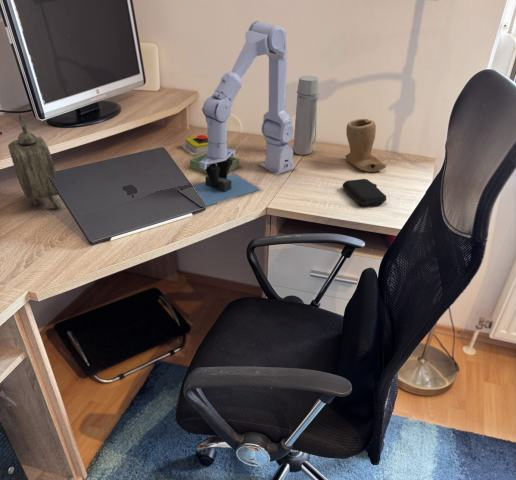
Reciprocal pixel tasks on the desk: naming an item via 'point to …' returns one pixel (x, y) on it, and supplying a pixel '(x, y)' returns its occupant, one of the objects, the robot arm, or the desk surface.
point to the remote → (220, 184)
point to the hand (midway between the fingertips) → (218, 184)
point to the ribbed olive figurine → (33, 165)
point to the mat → (214, 195)
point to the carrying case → (364, 192)
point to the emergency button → (196, 144)
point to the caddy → (196, 163)
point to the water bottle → (306, 115)
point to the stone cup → (362, 145)
